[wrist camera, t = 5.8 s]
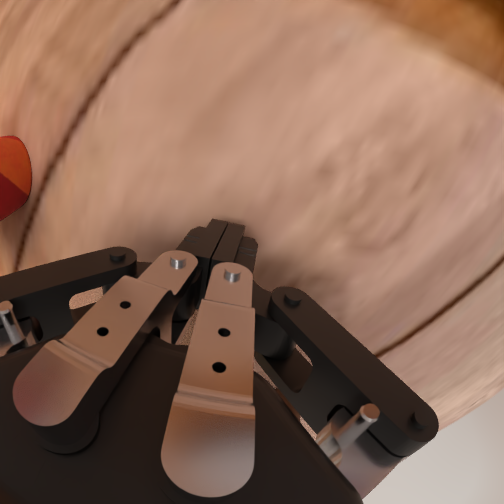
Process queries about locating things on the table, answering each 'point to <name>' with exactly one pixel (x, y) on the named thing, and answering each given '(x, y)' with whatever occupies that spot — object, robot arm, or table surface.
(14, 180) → the paper cup
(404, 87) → the table surface
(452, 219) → the table surface
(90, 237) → the table surface
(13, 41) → the table surface
